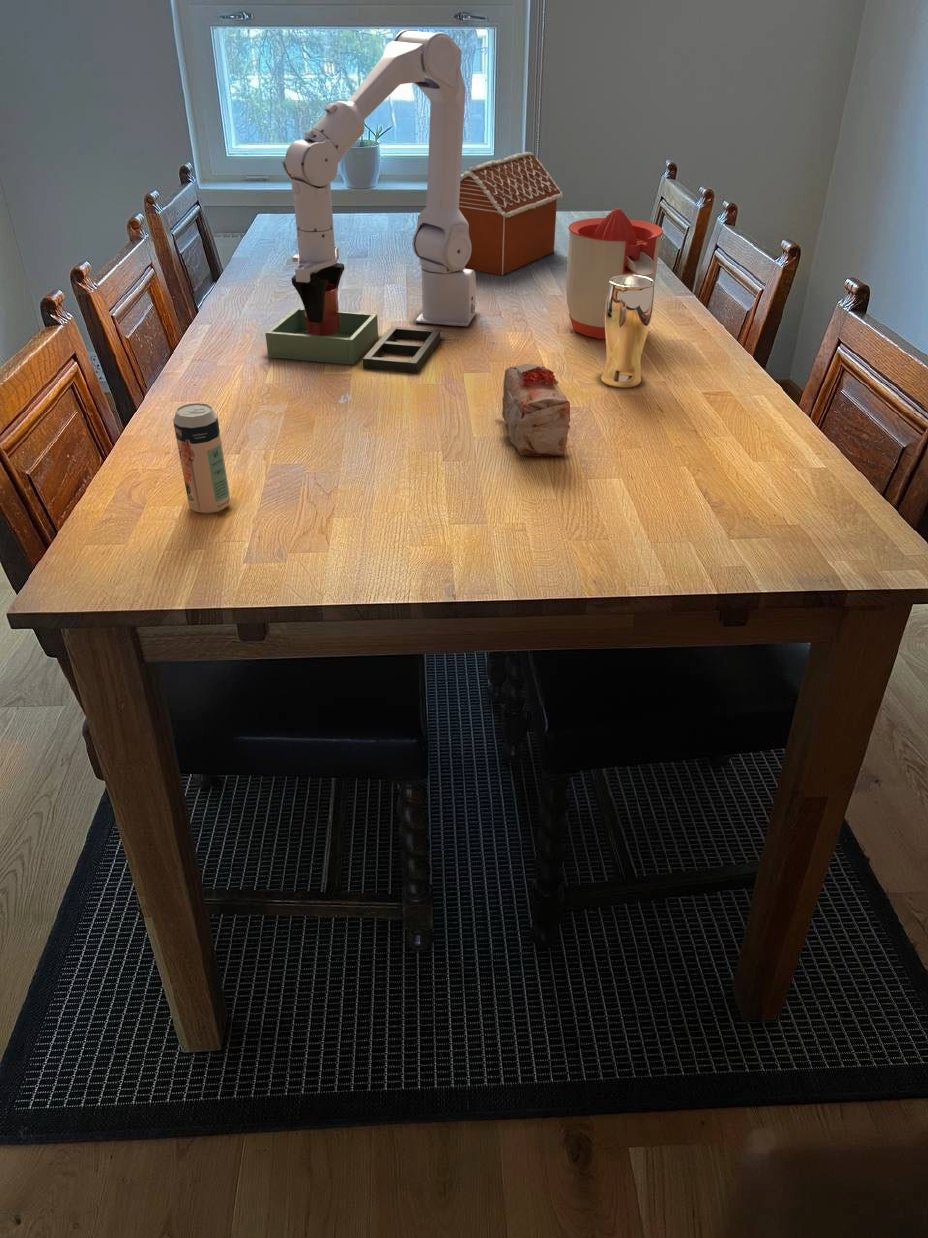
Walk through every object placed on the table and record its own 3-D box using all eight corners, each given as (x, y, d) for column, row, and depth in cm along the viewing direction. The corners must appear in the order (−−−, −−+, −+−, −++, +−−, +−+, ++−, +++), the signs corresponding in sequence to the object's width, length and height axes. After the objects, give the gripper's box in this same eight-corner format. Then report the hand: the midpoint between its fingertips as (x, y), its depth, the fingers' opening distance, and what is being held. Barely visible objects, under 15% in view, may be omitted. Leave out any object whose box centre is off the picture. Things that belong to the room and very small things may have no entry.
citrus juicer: (599, 353, 151) (611, 224, 140) (544, 323, 164) (551, 202, 152) (674, 339, 157) (693, 215, 145) (616, 311, 170) (628, 194, 158)
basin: (378, 337, 157) (377, 313, 154) (353, 364, 146) (352, 339, 144) (298, 330, 159) (295, 307, 157) (268, 357, 148) (265, 332, 146)
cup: (344, 326, 153) (341, 283, 149) (333, 337, 148) (330, 293, 144) (313, 324, 154) (309, 281, 150) (301, 334, 149) (297, 290, 145)
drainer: (441, 338, 157) (441, 329, 156) (416, 372, 143) (416, 363, 143) (391, 334, 158) (391, 325, 157) (362, 367, 145) (362, 358, 144)
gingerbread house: (562, 251, 205) (569, 152, 193) (504, 277, 187) (508, 170, 176) (492, 239, 213) (494, 144, 201) (430, 264, 195) (428, 160, 184)
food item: (574, 460, 118) (580, 387, 113) (514, 464, 117) (517, 391, 111) (547, 418, 129) (552, 349, 124) (492, 422, 128) (494, 352, 122)
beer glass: (647, 375, 143) (659, 276, 134) (639, 391, 138) (651, 289, 129) (603, 369, 145) (613, 272, 136) (593, 385, 140) (603, 284, 131)
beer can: (193, 497, 109) (175, 401, 102) (233, 496, 110) (218, 400, 103) (186, 516, 105) (167, 419, 98) (228, 515, 106) (212, 418, 99)
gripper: (307, 216, 148) (314, 301, 156) (272, 236, 137) (282, 327, 145) (348, 218, 147) (353, 304, 155) (317, 239, 135) (324, 331, 143)
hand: (322, 315), depth 150 cm, fingers closed on cup, 5 cm apart
